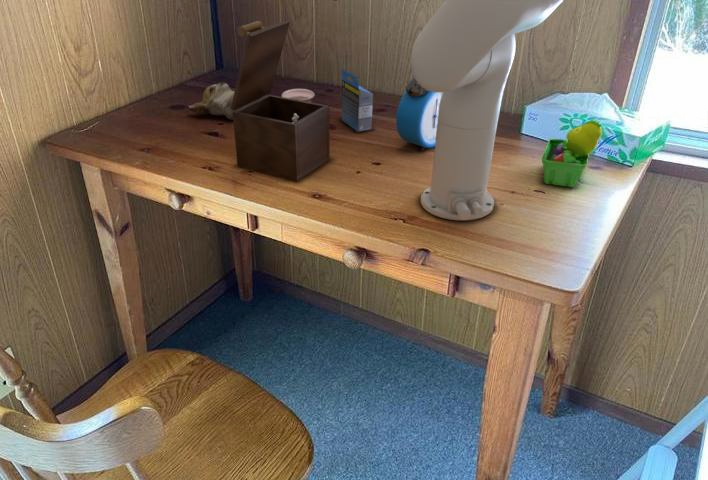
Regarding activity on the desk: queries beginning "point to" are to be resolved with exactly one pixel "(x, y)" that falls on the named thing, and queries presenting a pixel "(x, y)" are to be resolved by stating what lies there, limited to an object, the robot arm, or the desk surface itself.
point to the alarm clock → (418, 115)
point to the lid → (258, 61)
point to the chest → (282, 136)
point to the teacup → (299, 94)
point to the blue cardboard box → (356, 103)
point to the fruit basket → (570, 154)
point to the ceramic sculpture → (216, 101)
